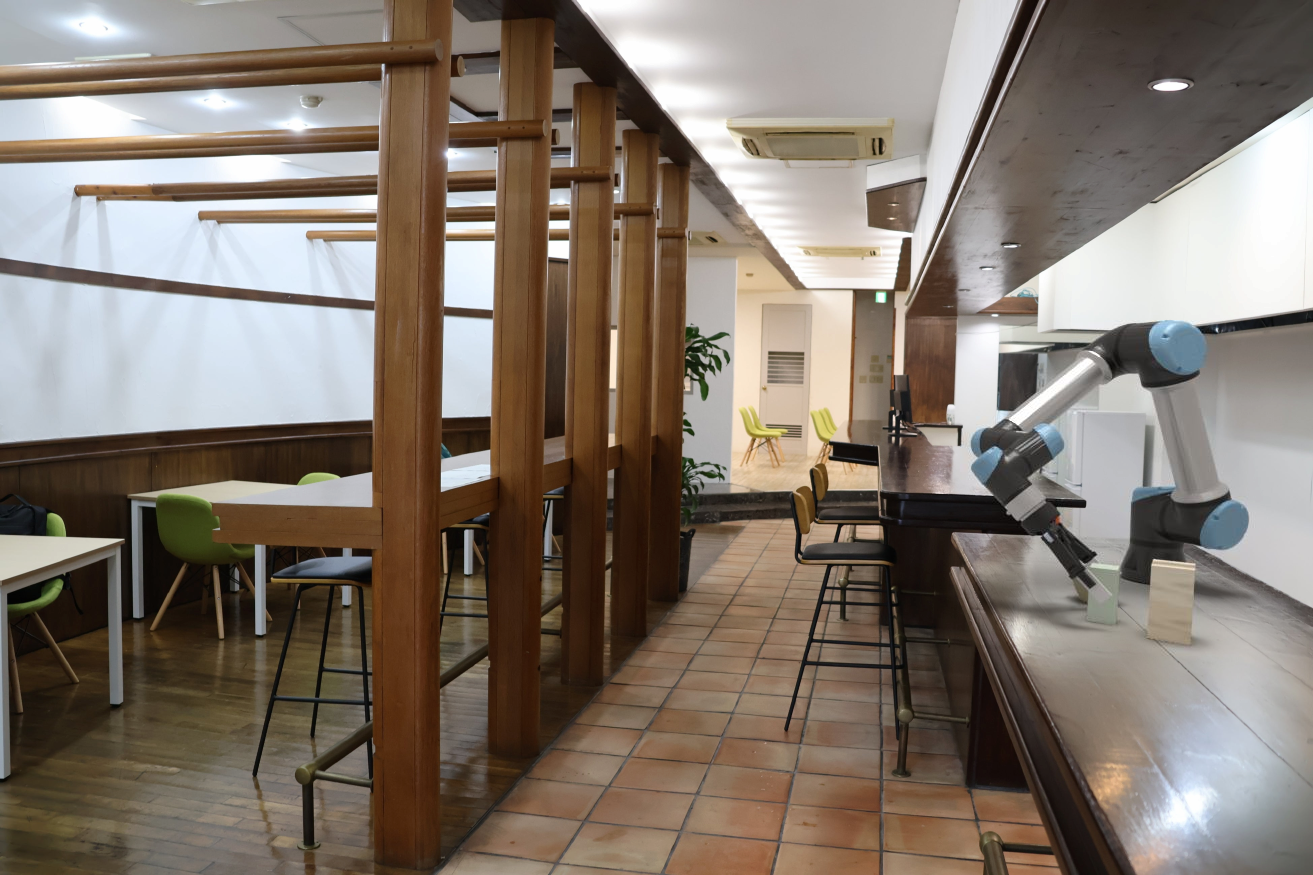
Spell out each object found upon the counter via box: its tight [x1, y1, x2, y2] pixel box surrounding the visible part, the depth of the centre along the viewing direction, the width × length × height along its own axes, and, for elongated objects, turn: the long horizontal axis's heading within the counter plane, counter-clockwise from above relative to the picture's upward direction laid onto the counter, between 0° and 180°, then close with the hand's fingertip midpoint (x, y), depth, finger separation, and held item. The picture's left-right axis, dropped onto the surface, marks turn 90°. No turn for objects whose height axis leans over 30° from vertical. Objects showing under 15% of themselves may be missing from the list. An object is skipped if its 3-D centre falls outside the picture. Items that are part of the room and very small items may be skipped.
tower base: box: [1146, 601, 1194, 646], centre depth 167 cm, size 7×7×7 cm
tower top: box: [1148, 559, 1196, 609], centre depth 167 cm, size 7×7×7 cm
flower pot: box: [1072, 564, 1122, 604], centre depth 194 cm, size 10×10×7 cm
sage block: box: [1086, 563, 1121, 626], centre depth 179 cm, size 5×5×11 cm
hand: (1109, 592), depth 178 cm, fingers open, 13 cm apart
